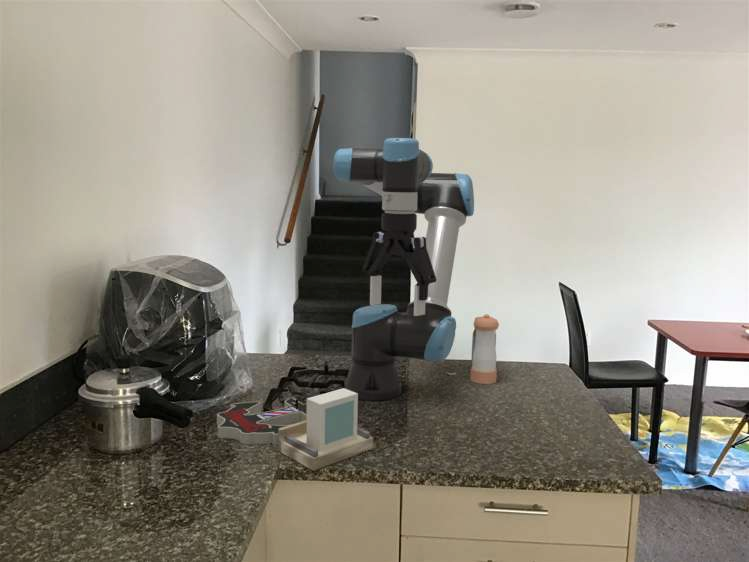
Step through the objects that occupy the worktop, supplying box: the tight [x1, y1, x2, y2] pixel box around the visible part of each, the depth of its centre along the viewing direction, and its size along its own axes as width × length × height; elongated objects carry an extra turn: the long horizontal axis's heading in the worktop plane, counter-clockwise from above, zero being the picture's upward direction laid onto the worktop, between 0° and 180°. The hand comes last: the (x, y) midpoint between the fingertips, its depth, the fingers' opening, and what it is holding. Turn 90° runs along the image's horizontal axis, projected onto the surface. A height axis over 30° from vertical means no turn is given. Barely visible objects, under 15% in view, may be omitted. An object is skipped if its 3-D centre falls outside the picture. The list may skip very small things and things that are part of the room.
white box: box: [306, 387, 359, 452], centre depth 138 cm, size 5×10×10 cm, turn 134°
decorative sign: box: [216, 397, 307, 446], centre depth 155 cm, size 22×3×30 cm
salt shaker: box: [470, 314, 500, 385], centre depth 188 cm, size 7×7×19 cm
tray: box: [277, 420, 374, 472], centre depth 140 cm, size 12×16×5 cm
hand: (396, 309), depth 145 cm, fingers open, 13 cm apart
